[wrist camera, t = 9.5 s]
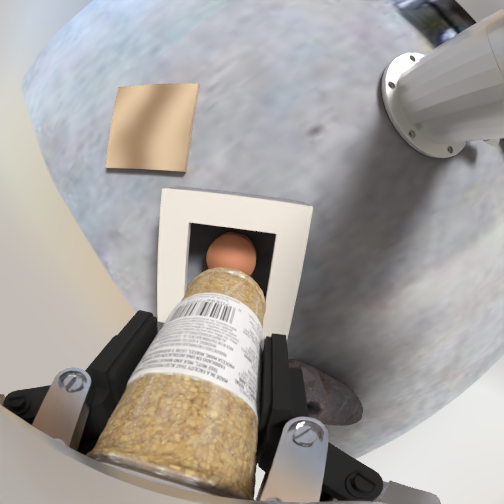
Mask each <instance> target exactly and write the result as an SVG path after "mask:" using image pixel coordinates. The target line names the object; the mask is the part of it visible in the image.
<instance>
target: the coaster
mask: <svg viewBox="0 0 504 504" xmlns="http://www.w3.org/2000/svg"><path fill="white" fill-rule="evenodd" d="M198 91H199V84H152V85H137V86H126V87H118V92H117V96H116V101H115V106H114V111H113V117H112V123H111V129H110V135H109V142H108V150H107V158H106V168H129V169H151V170H168V171H182V172H186V170H187V162H188V154H189V147H190V140H191V133H192V126H193V120H194V114H195V108H196V102H197V96H198Z"/></svg>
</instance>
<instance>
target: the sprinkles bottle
mask: <svg viewBox="0 0 504 504" xmlns="http://www.w3.org/2000/svg"><path fill="white" fill-rule="evenodd" d="M265 312H266V301H265V298H264V294H263V291H262V290H261V289H260V287H259V285H258V284H257V283H256V282H255V281H254V280H253V279H252V278H251V277H250V276H248V275H247V274H245V273H243V272H242V271H240V270H236V269H232V268H222V267H218V268H213V269H208V270H206V271H203V272H202V273H201V274H199V275H198V276H197V277H195V278H194V279H193V280H192V281H191V283H190V284H189V285H188V287H187V290H186V292H185V295H184V297H183V299H182V300H181V302H180V303H178V304H177V306H176V307H175V308H174V309H173V311H172V312H171V314H170V315H169V317H168V318H167V320H166V322H165V323H164V325H163V326H162V328H161V329H160V331H159V332H158V334H157V335H156V337H155V338H154V340H153V341H152V343H151V344H150V346H149V348H148V349H147V351H146V353H145V354H144V356H143V357H142V359H141V361H140V362H139V364H138V365H137V367H136V368H135V370H134V372H133V373H132V375H131V377H130V379H129V380H128V383H127V387H126V389H125V392H124V394H123V395H122V397H121V399H120V401H119V403H118V405H117V406H116V408H115V410H114V412H113V413H112V415H111V417H110V418H109V420H108V422H107V424H106V427H105V428H104V430H103V432H102V433H101V435H100V437H99V439H98V441H97V443H96V445H95V447H94V449H93V450H92V451H91V452H89V453H87V454H86V455H85V456H88V457H90V458H92V459H94V460H96V461H99V462H101V463H103V464H106V465H108V466H110V467H113V468H115V469H118V470H120V471H123V472H126V473H128V474H131V475H134V476H137V477H140V478H143V479H146V480H149V481H153V482H156V483H159V484H163V485H167V486H170V487H174V488H178V489H183V490H187V491H192V492H196V493H202V494H207V495H213V496H219V497H226V498H233V499H242V500H253V501H255V500H254V499H253V498H254V487H255V473H256V465H257V460H256V453H257V443H258V428H259V423H260V404H261V383H262V360H263V349H264V334H263V319H264V314H265Z"/></svg>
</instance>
